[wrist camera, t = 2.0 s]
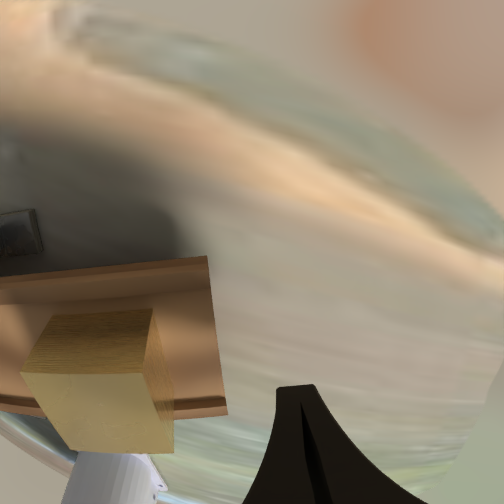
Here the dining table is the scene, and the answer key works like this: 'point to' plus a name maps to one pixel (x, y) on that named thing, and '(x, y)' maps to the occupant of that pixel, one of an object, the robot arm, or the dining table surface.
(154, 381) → the block
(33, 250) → the stand
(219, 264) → the dining table surface
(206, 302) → the beam
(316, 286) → the dining table surface
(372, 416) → the dining table surface
